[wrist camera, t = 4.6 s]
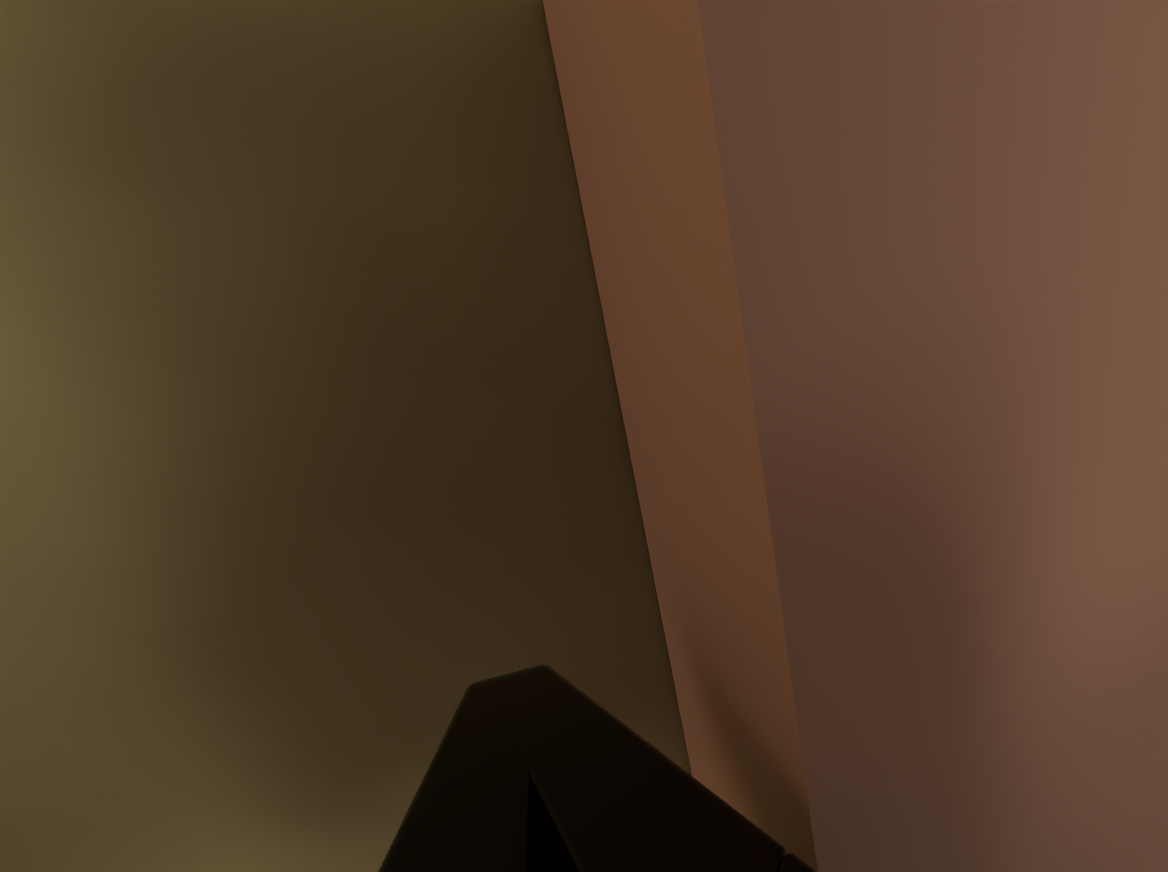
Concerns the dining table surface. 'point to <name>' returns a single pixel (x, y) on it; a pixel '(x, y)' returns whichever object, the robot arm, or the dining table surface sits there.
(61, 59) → the dining table surface
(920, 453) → the pink tabbed slab
